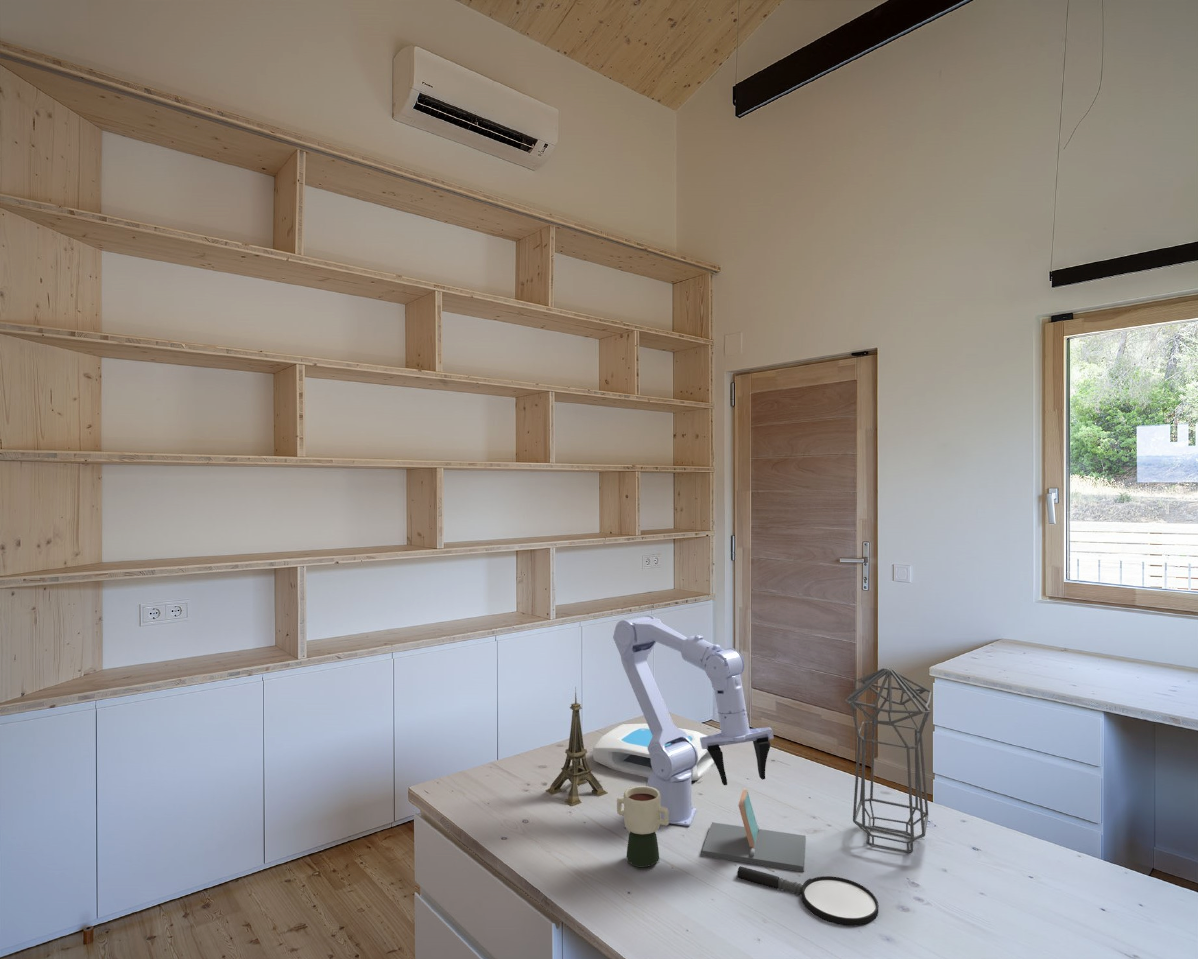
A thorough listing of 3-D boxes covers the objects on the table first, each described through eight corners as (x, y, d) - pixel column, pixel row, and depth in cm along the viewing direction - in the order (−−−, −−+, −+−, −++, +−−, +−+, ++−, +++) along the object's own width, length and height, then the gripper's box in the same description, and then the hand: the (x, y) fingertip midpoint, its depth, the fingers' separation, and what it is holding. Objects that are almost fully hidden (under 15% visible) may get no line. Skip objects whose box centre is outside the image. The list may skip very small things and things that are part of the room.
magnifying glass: (748, 862, 131) (748, 850, 131) (882, 898, 119) (882, 886, 119) (728, 895, 120) (728, 883, 120) (873, 939, 108) (873, 925, 108)
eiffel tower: (571, 806, 154) (571, 696, 155) (545, 791, 162) (544, 686, 163) (607, 793, 161) (606, 687, 161) (580, 779, 169) (579, 678, 170)
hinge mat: (702, 855, 132) (702, 845, 133) (712, 826, 144) (711, 817, 144) (803, 871, 126) (803, 861, 126) (805, 840, 138) (805, 831, 138)
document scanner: (691, 788, 164) (691, 761, 164) (592, 766, 178) (591, 742, 178) (721, 758, 182) (721, 734, 182) (629, 740, 196) (628, 718, 196)
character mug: (676, 859, 131) (675, 791, 132) (662, 877, 125) (661, 806, 125) (625, 846, 136) (624, 781, 137) (609, 863, 130) (608, 795, 130)
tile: (738, 805, 133) (743, 804, 133) (742, 790, 140) (747, 789, 139) (749, 846, 132) (755, 846, 132) (753, 829, 139) (758, 829, 138)
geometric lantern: (934, 831, 141) (933, 663, 141) (931, 871, 127) (929, 684, 127) (854, 814, 148) (852, 655, 148) (842, 850, 134) (841, 673, 134)
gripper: (700, 719, 134) (711, 791, 131) (772, 708, 134) (784, 780, 132) (694, 713, 141) (705, 782, 138) (763, 703, 141) (774, 771, 139)
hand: (743, 780), depth 136 cm, fingers open, 7 cm apart
